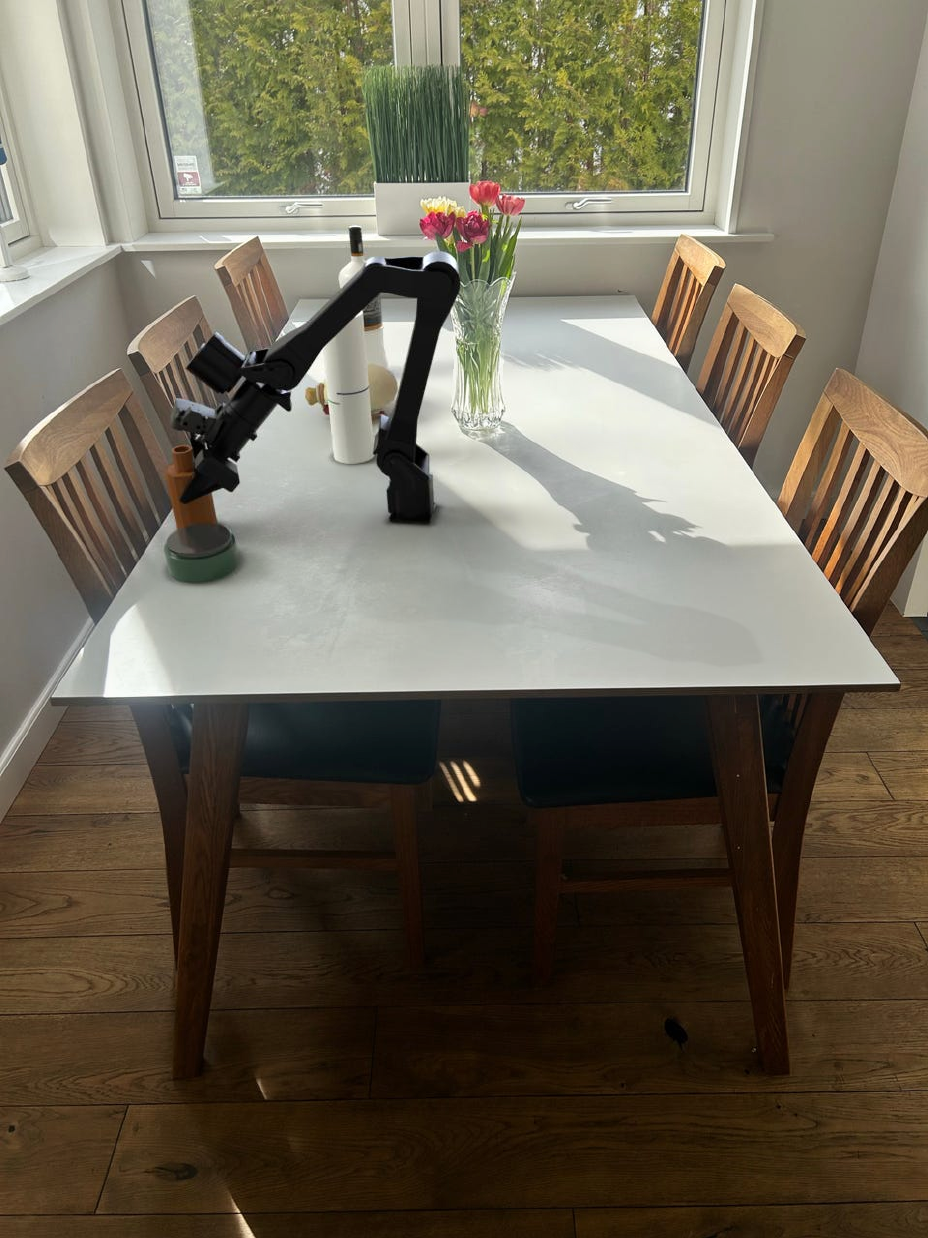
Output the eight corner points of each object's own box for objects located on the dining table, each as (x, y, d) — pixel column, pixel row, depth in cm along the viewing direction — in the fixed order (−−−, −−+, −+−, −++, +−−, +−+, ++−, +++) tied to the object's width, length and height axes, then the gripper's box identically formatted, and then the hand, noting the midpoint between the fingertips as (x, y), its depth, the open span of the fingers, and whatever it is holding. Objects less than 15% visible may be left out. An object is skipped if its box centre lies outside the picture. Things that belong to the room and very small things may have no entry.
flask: (409, 422, 180) (315, 438, 176) (391, 394, 192) (304, 408, 189) (403, 375, 174) (307, 390, 171) (386, 349, 187) (296, 363, 184)
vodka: (370, 363, 209) (358, 219, 192) (397, 373, 203) (388, 225, 187) (337, 374, 204) (322, 226, 187) (364, 384, 198) (351, 233, 181)
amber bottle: (224, 522, 148) (209, 441, 140) (209, 540, 143) (193, 458, 135) (187, 520, 149) (170, 440, 141) (172, 538, 144) (153, 456, 136)
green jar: (249, 550, 140) (244, 523, 138) (224, 585, 132) (219, 557, 130) (185, 546, 142) (179, 519, 139) (157, 580, 134) (150, 553, 131)
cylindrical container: (367, 465, 164) (355, 320, 151) (328, 462, 166) (312, 318, 152) (379, 448, 170) (368, 307, 156) (341, 446, 171) (327, 306, 158)
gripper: (194, 360, 141) (133, 439, 145) (200, 403, 126) (133, 489, 130) (255, 404, 147) (195, 478, 151) (268, 450, 132) (201, 531, 136)
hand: (181, 492), depth 142 cm, fingers closed on amber bottle, 6 cm apart
